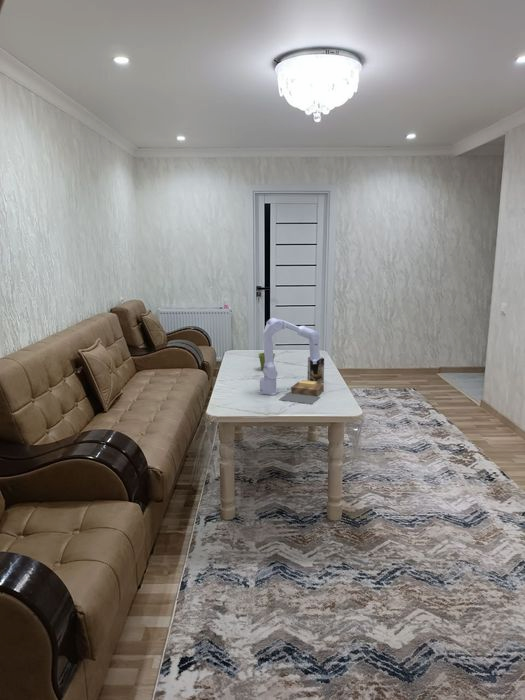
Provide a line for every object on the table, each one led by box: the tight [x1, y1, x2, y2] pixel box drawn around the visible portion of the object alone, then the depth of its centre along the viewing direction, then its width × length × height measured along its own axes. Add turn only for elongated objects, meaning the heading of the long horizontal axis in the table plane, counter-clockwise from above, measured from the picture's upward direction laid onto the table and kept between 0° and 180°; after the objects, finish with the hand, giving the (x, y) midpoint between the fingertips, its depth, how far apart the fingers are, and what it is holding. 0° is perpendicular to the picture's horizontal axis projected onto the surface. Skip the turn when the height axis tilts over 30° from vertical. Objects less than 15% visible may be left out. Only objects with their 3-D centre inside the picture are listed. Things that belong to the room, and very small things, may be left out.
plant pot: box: [257, 352, 276, 372], centre depth 351 cm, size 12×12×11 cm
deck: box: [290, 381, 325, 397], centre depth 301 cm, size 16×12×4 cm
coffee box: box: [306, 356, 325, 384], centre depth 319 cm, size 9×6×16 cm
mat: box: [278, 392, 321, 405], centre depth 290 cm, size 20×14×1 cm
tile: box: [298, 379, 317, 388], centre depth 301 cm, size 9×6×2 cm, turn 66°
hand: (315, 372), depth 307 cm, fingers open, 7 cm apart
